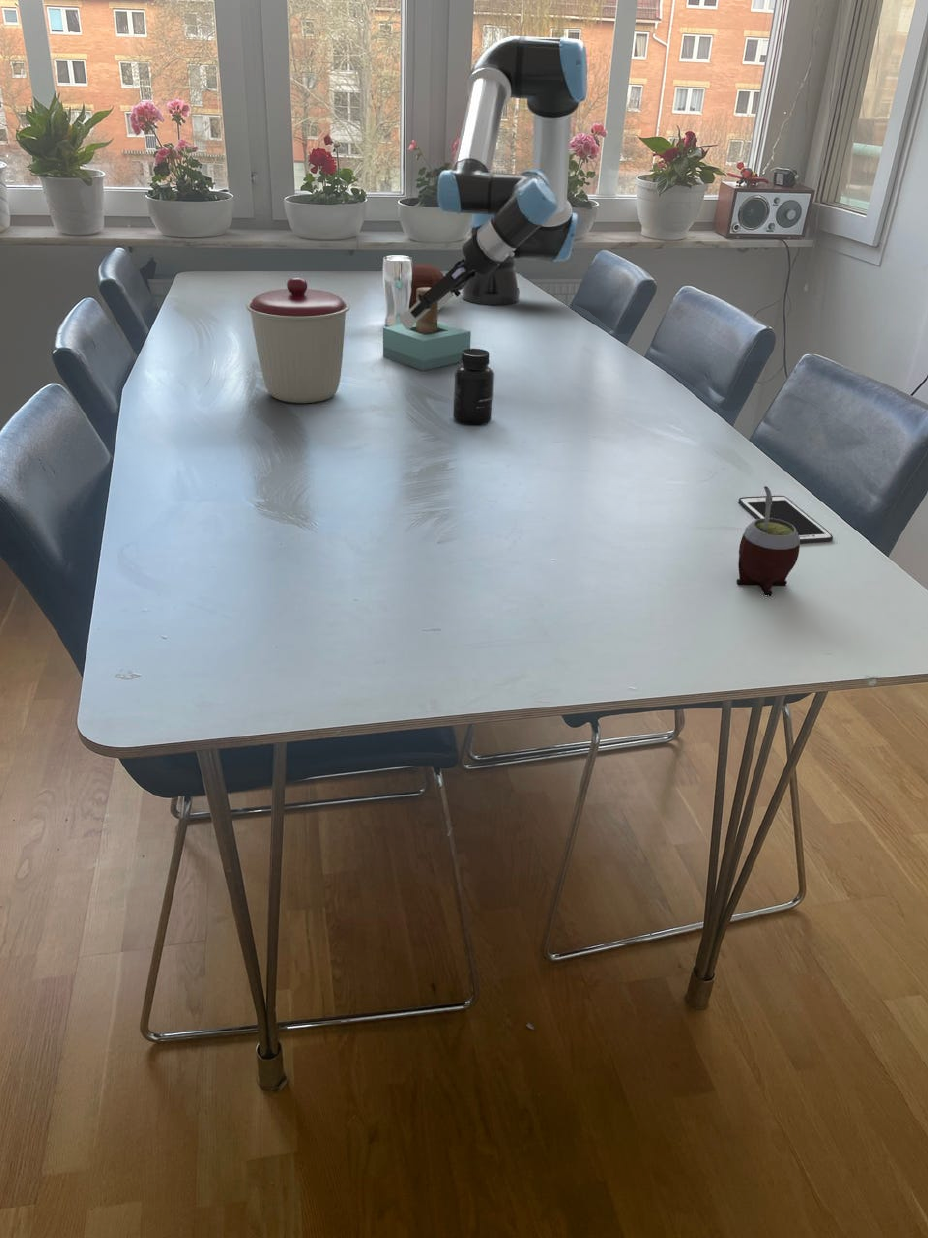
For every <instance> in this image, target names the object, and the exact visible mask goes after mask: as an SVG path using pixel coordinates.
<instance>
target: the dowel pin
mask: <svg viewBox="0 0 928 1238" xmlns="http://www.w3.org/2000/svg"><path fill="white" fill-rule="evenodd" d="M429 289H431V288H418V289H416V302H417V301H418V300H419V298H418V297H417V296H418V295H419V294H421V296H423V295H424V294H425V293H426V292H427V291H428V290H429ZM428 301H429V300H428ZM438 311H439V310H438V302H436V303H435V304H434V305H433V306H432V307H431V308H430V310H429V311H428V312H427V313H426V314H425V315H424V316H423V317H422V318H421V319H419V320H418V321H417V322H416V332H418V333H421V334H424V335H428V334H433V333H437V321H438Z"/></svg>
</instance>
